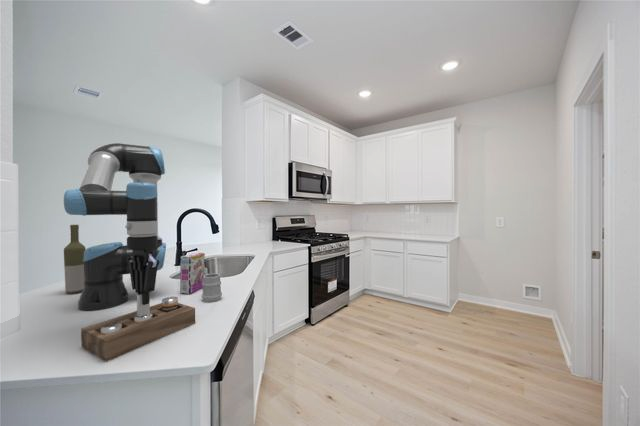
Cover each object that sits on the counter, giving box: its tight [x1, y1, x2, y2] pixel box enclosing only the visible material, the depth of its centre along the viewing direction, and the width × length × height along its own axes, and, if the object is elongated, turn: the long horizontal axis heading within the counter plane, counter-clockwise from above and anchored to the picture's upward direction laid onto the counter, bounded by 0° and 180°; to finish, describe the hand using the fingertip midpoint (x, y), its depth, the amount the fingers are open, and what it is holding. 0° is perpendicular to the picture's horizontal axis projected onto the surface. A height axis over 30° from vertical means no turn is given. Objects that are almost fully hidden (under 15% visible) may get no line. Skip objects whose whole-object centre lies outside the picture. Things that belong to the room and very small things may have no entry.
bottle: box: [63, 224, 87, 295], centre depth 114 cm, size 7×7×30 cm
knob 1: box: [101, 323, 122, 335], centre depth 70 cm, size 4×4×5 cm
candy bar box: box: [179, 252, 206, 295], centre depth 117 cm, size 11×5×16 cm, turn 172°
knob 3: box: [161, 296, 179, 313], centre depth 84 cm, size 4×4×5 cm
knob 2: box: [134, 313, 153, 323], centre depth 77 cm, size 4×4×5 cm
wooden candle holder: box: [80, 302, 196, 362], centre depth 77 cm, size 14×24×5 cm, turn 151°
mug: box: [201, 267, 223, 303], centre depth 107 cm, size 8×12×12 cm, turn 48°
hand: (143, 314), depth 77 cm, fingers closed
